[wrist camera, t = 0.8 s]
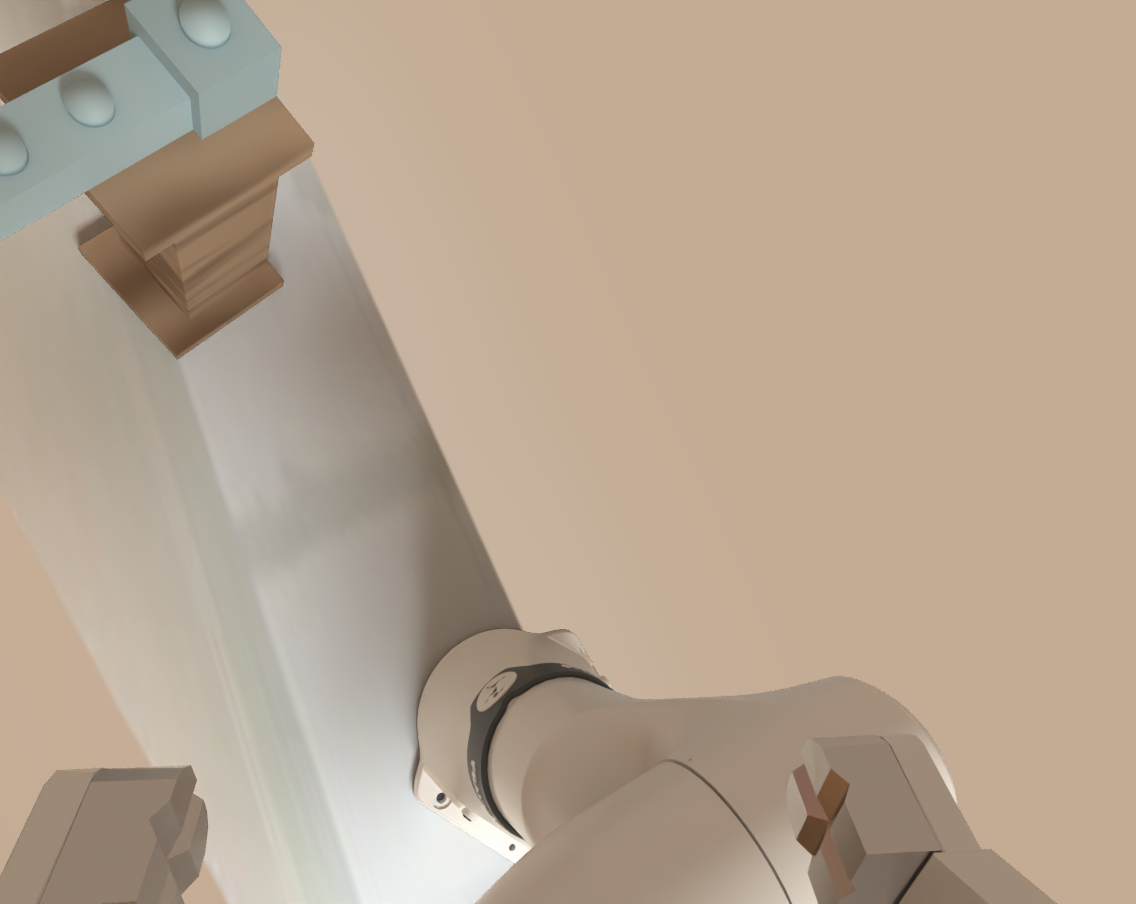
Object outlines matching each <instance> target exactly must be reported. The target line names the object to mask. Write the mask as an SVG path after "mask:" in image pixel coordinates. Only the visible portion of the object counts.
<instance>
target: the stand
mask: <svg viewBox="0 0 1136 904" xmlns="http://www.w3.org/2000/svg"><path fill="white" fill-rule="evenodd" d="M129 1H131V0H109V1H107V2H105V3H103V4H101V5H99V6H97V7H95V8H93V9H91V10H89V11H87V12H85V13H83V14H81V15H79V16H77V17H74V18H72V19H70V20H68V21H66V22H64V23H62V24H60V25H58V26H56V27H54V28H52V29H50V30H48V31H46V32H44V33H42V34H40V35H38V36H36V37H34V38H32V39H29V40H27V41H25V42H23V43H21V44H19V45H17V46H15V47H13V48H11V49H9V50H7V51H5V52H3V53H1V54H0V99H1V100H2V101H3V102H4V103H5V104H6V103H8V102H10V101H12V100H14V99H16V98H18V97H20V96H22V95H24V94H26V93H28V92H29V91H31V90H33V89H35V88H37V87H39V86H41V85H43V84H45V83H47V82H49V81H51V80H53V79H55V78H57V77H59V76H61V75H63V74H64V73H66V72H68V71H70V70H72V69H74V68H76V67H78V66H80V65H82V64H84V63H86V62H88V61H90V60H92V59H94V58H96V57H98V56H99V55H101V54H103V53H105V52H107V51H109V50H111V49H113V48H115V47H117V46H119V45H121V44H123V43H125V42H127V41H129V40H131V36H130V31H129V26H128V21H127V17H126V12H125V7H124V4H125V3H127V2H129ZM313 147H314V142H313V141H312V140H311V138H310V137H309V136H308V135H307V134H306V132H305V131H304V130H303V129H302V128H301V126H300V125H299V124H298V122H297V121H296V120H295V119H294V118H293V116H292V115H291V114H290V112H289V111H288V110H287V109H286V108H285V106H284V105H283V104H282V103H281V101H280V100H279V99H278V98H277V96H276V97H274V98H273V99H271V100H269V101H267V102H266V103H264V104H262V105H261V106H259V107H257V108H256V109H254V110H252V111H250V112H249V113H247V114H245V115H244V116H242V117H240V118H239V119H237V120H235V121H233V122H232V123H230V124H228V125H227V126H225V127H223V128H222V129H220V130H218V131H217V132H215V133H213V134H211V135H210V136H208V137H206V138H205V139H203V140H202V139H201V138H200V137H199V136H198V135H197V133H196V132H195V131H194V130H191V131H190V132H188V133H186V134H185V135H183V136H181V137H179V138H178V139H176V140H174V141H172V142H171V143H169V144H167V145H166V146H164V147H162V148H160V149H159V150H157V151H155V152H153V153H152V154H150V155H148V156H147V157H145V158H143V159H141V160H140V161H138V162H136V163H135V164H133V165H131V166H129V167H128V168H126V169H124V170H122V171H121V172H119V173H117V174H116V175H114V176H112V177H110V178H109V179H107V180H105V181H104V182H102V183H100V184H98V185H97V186H95V187H93V188H91V189H90V190H88V191H86V192H85V194H86V195H87V196H88V197H89V198H90V199H91V201H92V202H93V203H94V204H95V205H96V206H97V207H98V208H99V210H100V211H101V212H102V213H103V214H104V215H105V216H106V217H107V219H108V220H109V221H110V222H111V223H112V224H113V226H112V227H110V228H108V229H107V230H105V231H103V232H102V233H100V234H99V235H97V236H95V237H94V238H92V239H90V240H89V241H87V242H85V243H84V244H82V245H80V246H79V247H78V249H79V251H80V252H81V254H82V255H83V256H84V257H85V258H86V259H87V261H88V262H89V263H90V264H91V265H92V266H93V267H94V268H95V269H96V270H97V272H98V273H99V274H100V275H101V276H102V277H103V278H104V279H105V280H106V281H107V283H108V284H109V285H110V286H111V287H112V288H113V289H114V290H115V291H116V292H117V294H118V295H119V296H120V297H121V298H122V299H123V300H124V301H125V302H126V303H127V305H128V306H129V307H130V308H131V309H132V310H133V311H134V312H135V313H136V314H137V316H138V317H139V318H140V319H141V320H142V321H143V322H144V323H145V324H146V325H147V327H148V328H149V329H150V330H151V331H152V332H153V333H154V334H155V335H156V336H157V337H158V339H159V340H160V341H161V342H162V343H163V344H164V345H165V346H166V347H167V348H168V350H169V351H170V352H171V353H172V354H173V355H174V356H175V357H176V358H177V359H179V358H180V357H182V356H183V355H185V354H186V353H187V352H189V351H190V350H192V349H193V348H195V347H196V346H197V345H199V344H200V343H202V342H203V341H205V340H206V339H207V338H209V337H210V336H212V335H213V334H215V333H216V332H218V331H219V330H220V329H222V328H223V327H225V326H226V325H228V324H229V323H230V322H232V321H233V320H235V319H236V318H238V317H239V316H240V315H242V314H243V313H245V312H246V311H248V310H249V309H250V308H252V307H253V306H255V305H256V304H258V303H259V302H261V301H262V300H263V299H265V298H266V297H268V296H269V295H271V294H272V293H273V292H275V291H276V290H278V289H279V288H281V287H282V286H283V283H284V280H283V279H282V278H281V277H280V275H279V274H278V273H277V272H276V271H275V270H274V268H273V267H272V266H271V265H270V264H269V263H268V261H267V257H268V250H269V243H270V235H271V228H272V221H273V214H274V207H275V200H276V192H277V185H278V178H279V176H281V175H282V174H284V173H286V172H287V171H289V170H290V169H292V168H293V167H295V166H297V165H298V164H300V163H301V162H303V161H304V160H306V159H308V158H309V157H311V156H312V152H313Z"/></svg>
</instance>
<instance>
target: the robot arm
mask: <svg viewBox="0 0 1136 904" xmlns="http://www.w3.org/2000/svg"><path fill="white" fill-rule="evenodd" d="M417 731H418V739H419V747H420V761H419V765H418V768H417V772H416V776H415V781H414V795H415V797H416V799H417V800H418V801H419V802H420V803H421V804H423V805H424V806H426V807H427V808H429V809H430V810H432V811H433V812H435V813H437V814H438V815H440V816H441V817H443V818H444V819H446V820H447V821H449V822H451V823H452V824H454V825H455V826H457V827H458V828H460V829H461V830H463V831H465V832H466V833H468V834H469V835H471V836H472V837H474V838H475V839H477V840H479V841H480V842H482V843H483V844H485V845H486V846H488V847H489V848H491V849H493V850H494V851H496V852H497V853H499V854H500V855H502V856H503V857H505V858H506V859H508V860H510V861H511V862H513V863H514V865H513V866H512V867H511V868H510V869H509V870H508V871H507V872H506V873H505V874H504V875H503V876H502V877H501V878H500V879H498V880H497V881H496V882H495V883H494V884H493V885H492V886H491V887H490V888H489V889H488V890H487V891H486V892H485V893H484V894H483V895H482V896H481V897H480V898H479V899H478V900H477V901H476V902H475V904H1057V903H1055V901H1053V900H1052V899H1051V898H1050V897H1048V896H1047V895H1046V894H1045V893H1044V892H1042V891H1041V890H1040V889H1039V888H1038V887H1036V886H1035V885H1034V884H1033V883H1032V882H1030V881H1029V880H1028V879H1027V878H1026V877H1024V876H1023V875H1022V874H1021V873H1020V872H1018V871H1017V870H1016V869H1015V868H1013V867H1012V866H1011V865H1010V864H1009V863H1007V862H1006V861H1005V860H1004V859H1003V858H1001V857H1000V856H999V855H998V854H996V853H995V852H994V851H992V849H983V850H982V849H981V848H980V846H979V844H978V843H977V841H976V839H975V837H974V835H973V834H972V832H971V830H970V828H969V826H968V824H967V822H966V820H965V819H964V817H963V815H962V813H961V811H960V809H959V808H958V805H957V798H956V793H955V788H954V784H953V780H952V777H951V774H950V772H949V769H948V766H947V764H946V761H945V759H944V758H943V755H942V753H941V751H940V749H939V748H938V746H937V744H936V743H935V741H934V739H933V738H932V737H931V735H930V734H929V732H928V731H927V730H926V728H925V727H924V726H923V725H922V724H921V722H920V721H919V720H918V719H917V718H916V717H915V716H914V715H913V714H912V713H911V712H910V711H909V710H908V709H907V708H906V707H904V706H903V705H902V704H901V703H899V702H898V701H897V700H895V699H894V698H893V697H891V696H889V695H888V694H886V693H885V692H883V691H881V690H880V689H878V688H876V687H874V686H872V685H869V684H867V683H865V682H862V681H860V680H857V679H854V678H850V677H844V676H835V677H834V676H833V677H829V678H825V679H821V680H817V681H813V682H809V683H805V684H802V685H798V686H793V687H789V688H785V689H780V690H775V691H769V692H763V693H756V694H748V695H737V696H721V697H699V698H675V699H637V698H632V697H629V696H627V695H624V694H621V693H618V692H615V691H614V690H613V689H612V685H611V683H610V682H609V680H608V679H607V678H606V677H605V676H601V677H600V676H599V674H598V673H597V671H596V669H595V667H594V666H593V662H592V660H591V659H590V658H589V657H588V655H587V653H586V651H585V650H584V648H583V646H582V644H581V642H580V641H579V639H578V637H577V636H576V635H575V634H574V633H572V632H571V631H569V630H566V629H562V630H561V629H560V630H553V631H549V632H545V633H541V634H537V633H530V632H525V631H521V630H515V629H494V630H489V631H485V632H482V633H479V634H476V635H474V636H472V637H470V638H468V639H466V640H464V641H462V642H461V643H459V644H458V645H457V646H455V647H454V648H453V649H452V650H450V651H449V652H448V653H447V654H446V655H445V656H444V657H443V658H442V660H441V661H440V662H439V663H438V664H437V666H436V667H435V669H434V670H433V672H432V673H431V675H430V677H429V679H428V681H427V683H426V685H425V687H424V690H423V693H422V696H421V699H420V703H419V709H418V718H417ZM196 781H197V779H196V777H195V774H194V772H193V769H192V767H191V765H185V766H160V767H137V768H112V769H107V768H93V769H74V770H57V771H56V772H55V773H54V774H53V775H52V776H51V778H50V779H49V780H48V781H47V782H46V784H45V785H44V786H43V788H42V790H41V792H40V794H39V796H38V799H37V801H36V803H35V805H34V807H33V809H32V811H31V813H30V815H29V817H28V819H27V822H26V824H25V826H24V828H23V830H22V832H21V834H20V836H19V838H18V840H17V842H16V845H15V847H14V849H13V851H12V853H11V855H10V857H9V859H8V861H7V864H6V866H5V867H4V869H3V872H2V874H1V876H0V904H184V901H183V899H182V897H181V895H182V893H183V892H184V891H185V890H186V889H187V888H188V887H189V886H190V885H191V884H192V883H193V882H194V881H195V880H196V879H197V878H198V876H199V873H200V870H201V866H202V862H203V858H204V854H205V849H206V840H207V832H208V819H207V810H206V806H205V803H204V800H203V799H201V798H199V797H198V796H196V795H194V794H193V791H194V788H195V784H196ZM439 793H444V794H445V795H444V798H443V799H442V800H440V801H437V800H436V798H437V795H438V794H439ZM511 844H512V845H511ZM510 845H511V846H510ZM509 846H510V847H509Z"/></svg>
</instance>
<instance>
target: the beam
mask: <svg viewBox="0 0 1136 904" xmlns="http://www.w3.org/2000/svg"><path fill="white" fill-rule="evenodd" d="M124 7H125V12H126V17H127V21H128V26H129V31H130V36H131V40H129V41H127V42H125V43H123V44H121V45H119V46H117V47H115V48H113V49H111V50H109V51H107V52H105V53H103V54H101V55H99V56H98V57H96V58H94V59H92V60H90V61H88V62H86V63H84V64H82V65H80V66H78V67H76V68H74V69H72V70H70V71H68V72H66V73H64V74H63V75H61V76H59V77H57V78H55V79H53V80H51V81H49V82H47V83H45V84H43V85H41V86H39V87H37V88H35V89H33V90H31V91H29V92H28V93H26V94H24V95H22V96H20V97H18V98H16V99H14V100H12V101H10V102H8V103H6V104H4V105H2V106H0V241H2V240H4V239H5V238H7V237H9V236H10V235H12V234H14V233H16V232H17V231H19V230H21V229H22V228H24V227H26V226H28V225H29V224H31V223H33V222H35V221H36V220H38V219H40V218H41V217H43V216H45V215H47V214H48V213H50V212H52V211H54V210H55V209H57V208H59V207H60V206H62V205H64V204H66V203H67V202H69V201H71V200H72V199H74V198H76V197H78V196H79V195H81V194H83V193H85V192H86V191H88V190H90V189H91V188H93V187H95V186H97V185H98V184H100V183H102V182H104V181H105V180H107V179H109V178H110V177H112V176H114V175H116V174H117V173H119V172H121V171H122V170H124V169H126V168H128V167H129V166H131V165H133V164H135V163H136V162H138V161H140V160H141V159H143V158H145V157H147V156H148V155H150V154H152V153H153V152H155V151H157V150H159V149H160V148H162V147H164V146H166V145H167V144H169V143H171V142H172V141H174V140H176V139H178V138H179V137H181V136H183V135H185V134H186V133H188V132H190V131H191V130H194V131H195V132H196V133H197V135H198V136H199V137H200V138H201V139H202V140H203V139H205V138H206V137H208V136H210V135H211V134H213V133H215V132H217V131H218V130H220V129H222V128H223V127H225V126H227V125H228V124H230V123H232V122H233V121H235V120H237V119H239V118H240V117H242V116H244V115H245V114H247V113H249V112H250V111H252V110H254V109H256V108H257V107H259V106H261V105H262V104H264V103H266V102H267V101H269V100H271V99H273V98H274V97H276V95H277V86H278V76H279V67H280V57H281V49H282V47H281V46H280V44H279V43H278V42H277V41H276V39H275V38H274V37H273V36H272V35H271V33H270V32H269V31H268V29H267V28H266V27H265V26H264V24H263V23H262V22H261V21H260V19H259V18H258V17H257V16H256V14H255V13H254V12H253V10H252V9H251V8H250V7H249V5H248V4H247V3H246V2H245V0H131V1H129V2H127V3H125V4H124Z"/></svg>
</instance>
